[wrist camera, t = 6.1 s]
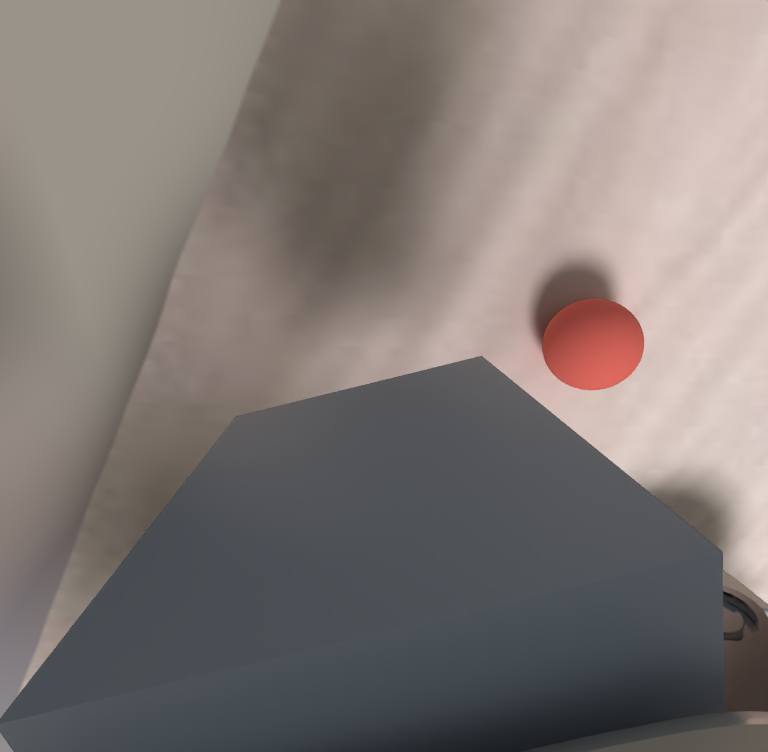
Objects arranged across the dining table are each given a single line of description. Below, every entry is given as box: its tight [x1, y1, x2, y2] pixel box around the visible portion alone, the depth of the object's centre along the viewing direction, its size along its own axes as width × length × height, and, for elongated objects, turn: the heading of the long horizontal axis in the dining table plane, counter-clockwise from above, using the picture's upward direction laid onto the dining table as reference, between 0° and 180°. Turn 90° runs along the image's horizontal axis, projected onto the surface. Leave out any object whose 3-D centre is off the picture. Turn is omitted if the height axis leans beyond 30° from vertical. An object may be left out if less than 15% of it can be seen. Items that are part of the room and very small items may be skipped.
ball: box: [542, 299, 644, 390], centre depth 23 cm, size 5×5×5 cm
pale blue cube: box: [0, 356, 725, 752], centre depth 10 cm, size 8×8×9 cm
